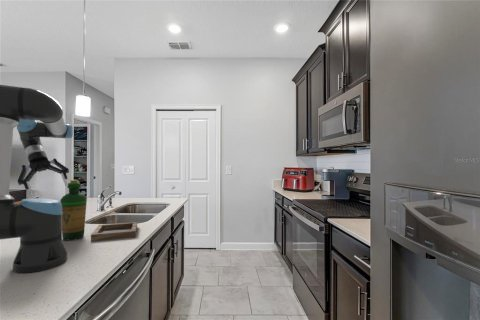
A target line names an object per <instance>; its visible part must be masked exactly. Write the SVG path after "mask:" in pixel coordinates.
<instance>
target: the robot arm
mask: <svg viewBox="0 0 480 320" xmlns="http://www.w3.org/2000/svg"><path fill="white" fill-rule="evenodd" d="M63 116H64V110H63V108H62V106H61V104H60V103H59V102H58V101H57V100H56V99H55V98H53V97H52V96H50V95H48V94H47V93H45V92H42V91H40V90H37V89H35V88H31V87H30V88H29V87H23V86H22V87H20V86H15V85H8V84H7V85H5V84H0V240H6V239H15V238H16V239H17V238H18V239H19V240H20V241H19V243H20V244H19V248H18V250H17V253H16V255H15V258H14V260H13V262H12V271H13V272H14V273H18V274H19V273H21V274H23V273H24V274H27V273H35V272H41V271H45V270H49V269H52V268H56V267H58V266H60V265H61V264H64V263H66V261H68V252H67V249H66V247H65V244H64V241H63V239H62V214H63V212H62V204H61V202H60V200H57V199H52V198H40V197H39V198H37V197H36V198H35V197H34V198H23V199H21V201H20V202H19V203H15V197H13V196H12V195H10V182H11V167H12V154H13V153H12V152H13V151H12V150H13V139H14V138H13V137H14V128H16V129H17V132H18V134H19V139H20V142H21V144H22V147H23V149H24V152H25V154H26V155H25V156H26V157H27V161H28V162H29V163H28V164H29V165H25V164H23V165H21V172H20V174H19V177H18V179H17V185H19V186H21V185H23V186H24V189H25V190H26V191H28V190H29V193H30V195H31V196H34V193H33V190H32V187H31V185H30V184H31V183H30V181H31V179H32V178H33V177H34V175H36V174H37V172H39V173H40V172H43V171H47V170H49V171H51V172H52V171H53V172H54V173H57V174H60V175H61V178H62V180H63V183H64V185H65V186H66V187H67V186H68V182H67V180H68V175H67V174H69V173H70V171H69V170H70V169H69V168H68V167H67V166H65V165H64V164H62V163H61V162H60V161H58V160H57V158H53V159H52V160H49V158H48V156H47V154H46V150H45V148H44V146H43V143H42V140H41V138H54V139H71V138H73V125H72V124H69V123H66V122H65V120H64V117H63ZM38 121H39V122H38ZM54 165H55V166H54ZM29 169H30V171H29ZM27 171H29V172H28V174H27Z"/></svg>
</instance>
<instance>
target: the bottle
mask: <svg viewBox="0 0 480 320" xmlns="http://www.w3.org/2000/svg"><path fill="white" fill-rule="evenodd" d="M69 181H70V182H67V186H66V187H67V189H68V193H66V194H65V195H63V196H62V197H61V198H60V200H59V201H60V202H61V204H62V212H63V214H62V240H64V241H75V240H79V239H82V238H83V237H84V235H85V227H86V225H85V224H86V215H87V213H86V212H87V200H88V198H87V196H86V195H85V194H83V193H81V192H80V188H81V187H82V186H81V182H79V179H69Z"/></svg>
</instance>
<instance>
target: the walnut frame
mask: <svg viewBox="0 0 480 320" xmlns="http://www.w3.org/2000/svg"><path fill="white" fill-rule="evenodd" d="M137 230H138V221H133V222H120V223H119V222H118V223H117V222H116V223H106V224H105V223H104V224H98V225H97V227H96V228H95V229H94V230H93V232H92V233H90V242H97V241H108V240H117V239H119V240H120V239H129V238H131V239H132V238H136V236H137Z"/></svg>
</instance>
